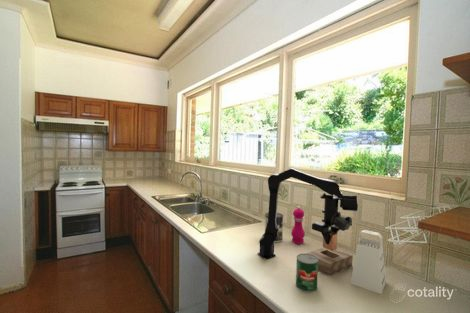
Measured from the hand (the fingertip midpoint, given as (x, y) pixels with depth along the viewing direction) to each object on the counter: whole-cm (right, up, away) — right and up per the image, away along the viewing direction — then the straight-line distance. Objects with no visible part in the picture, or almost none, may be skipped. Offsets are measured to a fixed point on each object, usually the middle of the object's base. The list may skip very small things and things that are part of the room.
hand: (329, 243), depth 109 cm
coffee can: (-20, -8, +30) cm, 37 cm away
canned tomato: (-15, -11, -16) cm, 25 cm away
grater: (+10, -11, -13) cm, 20 cm away
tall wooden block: (0, -2, 0) cm, 2 cm away
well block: (0, -10, 0) cm, 10 cm away
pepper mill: (-7, -9, +27) cm, 29 cm away
